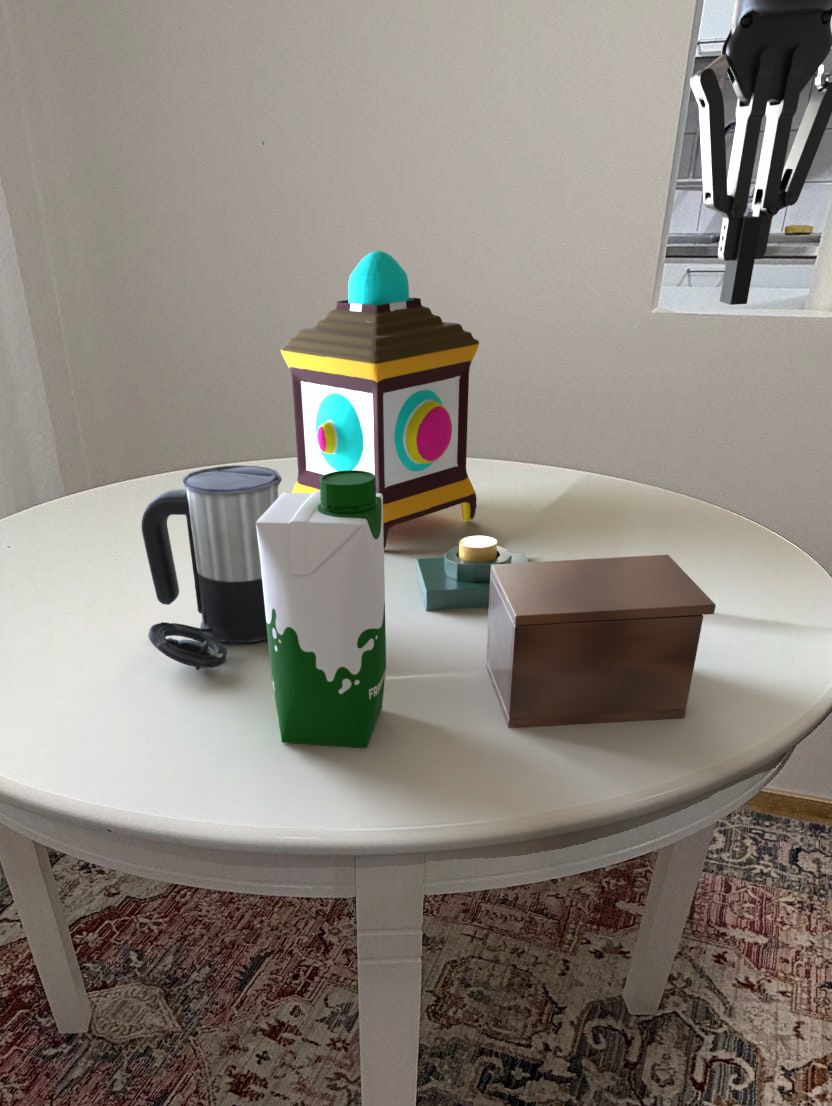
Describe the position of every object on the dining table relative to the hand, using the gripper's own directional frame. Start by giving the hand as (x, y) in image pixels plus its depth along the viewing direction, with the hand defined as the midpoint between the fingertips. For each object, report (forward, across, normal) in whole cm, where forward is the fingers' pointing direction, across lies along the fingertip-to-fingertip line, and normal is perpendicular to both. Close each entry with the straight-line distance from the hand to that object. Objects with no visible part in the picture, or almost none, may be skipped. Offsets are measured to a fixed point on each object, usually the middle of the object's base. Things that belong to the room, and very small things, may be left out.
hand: (733, 302), depth 87 cm
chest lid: (+18, +17, +24) cm, 34 cm away
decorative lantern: (+27, +31, -27) cm, 49 cm away
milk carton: (+27, +39, +27) cm, 54 cm away
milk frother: (+27, +49, +9) cm, 56 cm away
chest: (+26, +17, +24) cm, 39 cm away
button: (+23, +22, -1) cm, 32 cm away
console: (+26, +22, -1) cm, 35 cm away
